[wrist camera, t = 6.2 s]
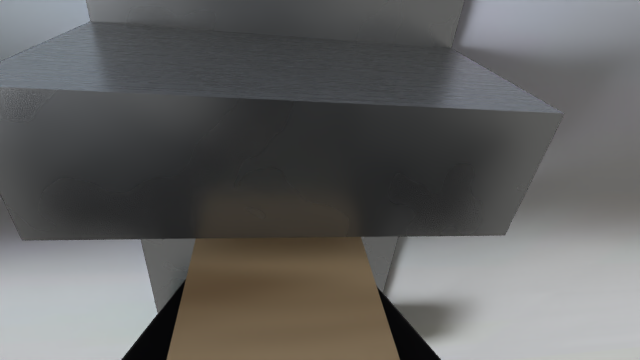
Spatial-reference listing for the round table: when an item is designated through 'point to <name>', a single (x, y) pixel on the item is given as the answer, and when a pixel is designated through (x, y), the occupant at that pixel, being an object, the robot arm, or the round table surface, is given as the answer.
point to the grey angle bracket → (263, 128)
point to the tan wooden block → (281, 302)
